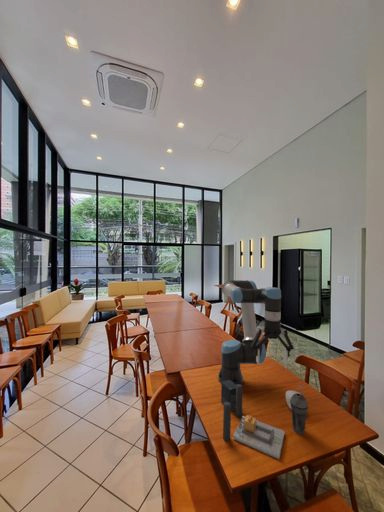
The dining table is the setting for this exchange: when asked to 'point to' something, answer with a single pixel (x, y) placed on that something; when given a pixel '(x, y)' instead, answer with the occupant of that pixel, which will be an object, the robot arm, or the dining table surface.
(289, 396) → the cup
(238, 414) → the cord post
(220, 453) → the dining table surface
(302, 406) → the beverage cup
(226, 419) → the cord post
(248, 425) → the block
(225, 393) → the box
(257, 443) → the breaker panel
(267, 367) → the dining table surface
